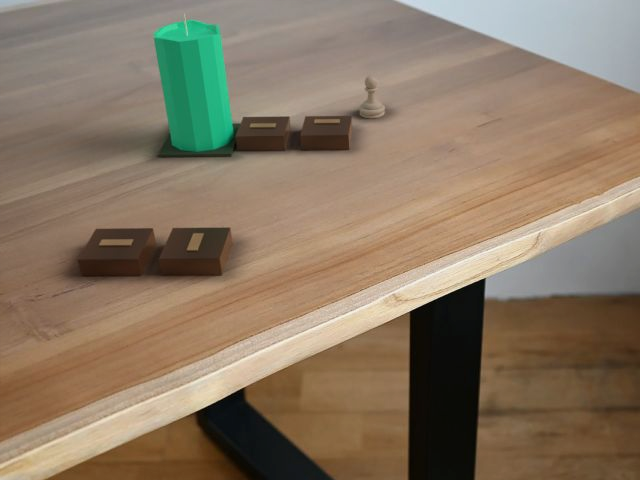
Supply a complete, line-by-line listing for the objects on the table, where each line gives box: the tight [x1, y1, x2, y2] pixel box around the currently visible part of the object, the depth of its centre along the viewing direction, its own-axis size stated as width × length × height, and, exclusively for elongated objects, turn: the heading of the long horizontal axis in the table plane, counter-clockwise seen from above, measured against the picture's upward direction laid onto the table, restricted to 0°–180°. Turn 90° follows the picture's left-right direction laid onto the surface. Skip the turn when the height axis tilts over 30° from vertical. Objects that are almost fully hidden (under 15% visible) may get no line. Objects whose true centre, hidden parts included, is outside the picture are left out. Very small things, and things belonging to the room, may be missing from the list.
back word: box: [235, 115, 353, 152], centre depth 86 cm, size 10×4×2 cm, turn 89°
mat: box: [157, 122, 241, 158], centre depth 87 cm, size 7×7×1 cm
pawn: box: [358, 75, 386, 120], centre depth 90 cm, size 3×3×4 cm
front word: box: [77, 226, 234, 277], centre depth 69 cm, size 10×4×2 cm, turn 89°
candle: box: [152, 12, 234, 152], centre depth 83 cm, size 6×6×12 cm
